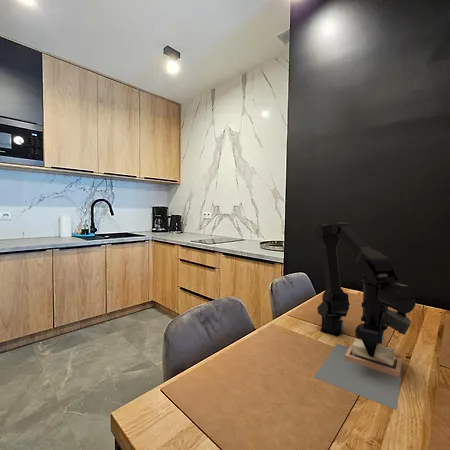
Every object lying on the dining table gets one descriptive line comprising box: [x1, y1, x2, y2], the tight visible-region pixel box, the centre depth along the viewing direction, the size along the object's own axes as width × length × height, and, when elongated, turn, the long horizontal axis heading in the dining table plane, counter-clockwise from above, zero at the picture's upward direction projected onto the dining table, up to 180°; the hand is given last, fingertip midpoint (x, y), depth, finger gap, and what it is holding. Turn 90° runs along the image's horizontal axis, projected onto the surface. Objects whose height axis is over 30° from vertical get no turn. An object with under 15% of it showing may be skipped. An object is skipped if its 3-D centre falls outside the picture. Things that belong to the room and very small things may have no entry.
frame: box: [345, 343, 402, 377], centre depth 74 cm, size 13×8×1 cm, turn 52°
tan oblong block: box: [352, 338, 396, 366], centre depth 74 cm, size 10×5×3 cm, turn 52°
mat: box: [313, 343, 404, 411], centre depth 70 cm, size 18×22×1 cm
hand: (372, 352), depth 74 cm, fingers closed on tan oblong block, 5 cm apart
